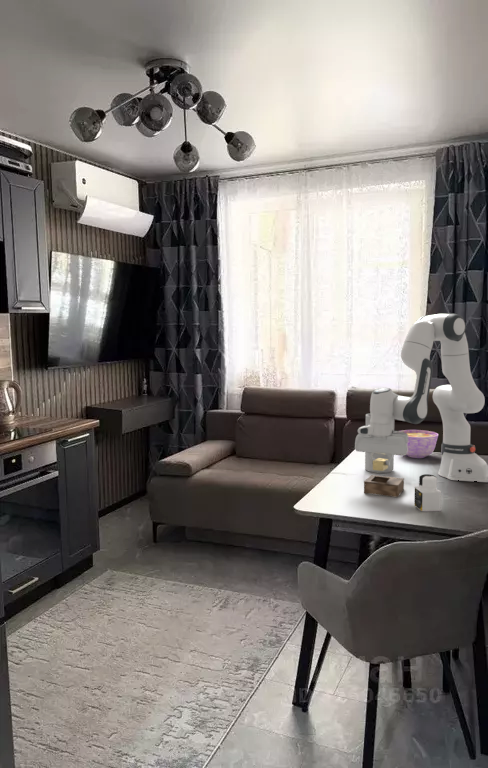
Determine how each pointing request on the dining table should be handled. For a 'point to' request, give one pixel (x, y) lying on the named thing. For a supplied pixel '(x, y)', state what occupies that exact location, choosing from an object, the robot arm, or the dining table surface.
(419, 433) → the bowl of food
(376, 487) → the brown wooden frame
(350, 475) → the dining table surface
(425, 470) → the dining table surface
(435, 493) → the medicine bottle
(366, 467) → the cylinder vase
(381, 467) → the brushed brass pillar
